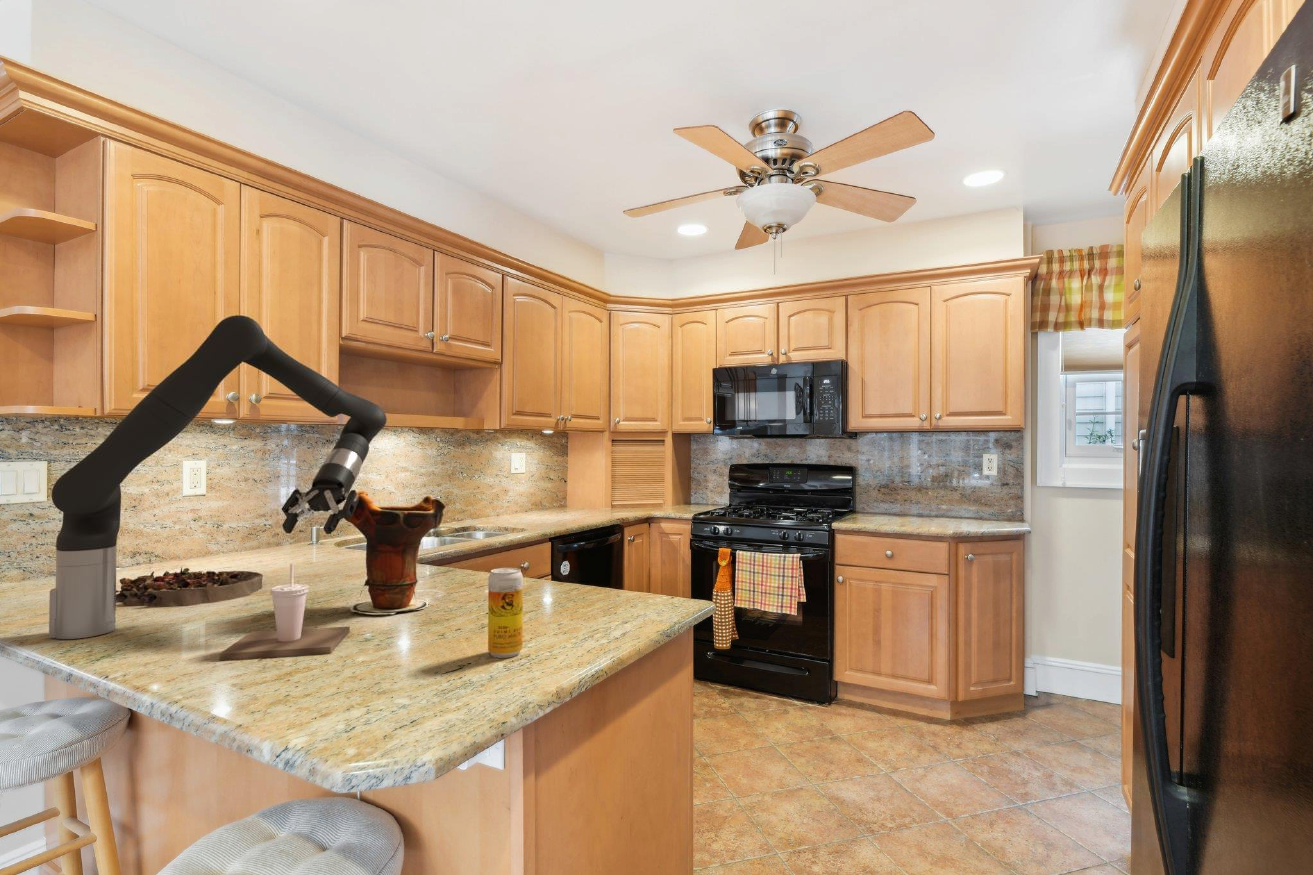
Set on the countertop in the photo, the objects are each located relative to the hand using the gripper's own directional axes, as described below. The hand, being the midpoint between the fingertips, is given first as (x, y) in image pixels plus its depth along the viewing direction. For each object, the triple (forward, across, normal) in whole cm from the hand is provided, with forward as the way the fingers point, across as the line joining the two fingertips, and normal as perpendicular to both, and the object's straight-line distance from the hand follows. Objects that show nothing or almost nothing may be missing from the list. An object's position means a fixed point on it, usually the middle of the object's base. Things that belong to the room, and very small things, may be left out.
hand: (306, 531), depth 132 cm
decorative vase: (-1, +8, +30) cm, 31 cm away
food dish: (-9, -52, +39) cm, 66 cm away
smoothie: (+20, +2, +8) cm, 21 cm away
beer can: (+23, +45, +6) cm, 51 cm away
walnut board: (+21, +3, +8) cm, 22 cm away
